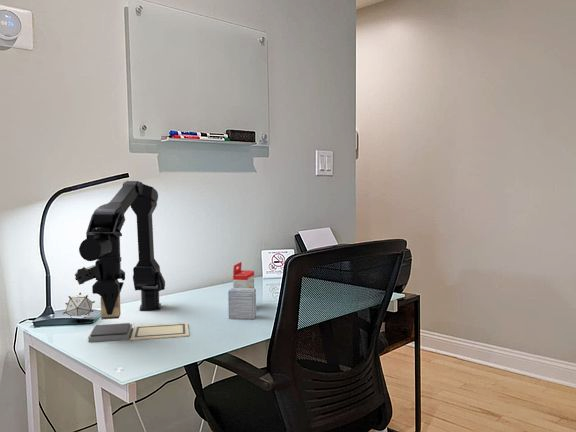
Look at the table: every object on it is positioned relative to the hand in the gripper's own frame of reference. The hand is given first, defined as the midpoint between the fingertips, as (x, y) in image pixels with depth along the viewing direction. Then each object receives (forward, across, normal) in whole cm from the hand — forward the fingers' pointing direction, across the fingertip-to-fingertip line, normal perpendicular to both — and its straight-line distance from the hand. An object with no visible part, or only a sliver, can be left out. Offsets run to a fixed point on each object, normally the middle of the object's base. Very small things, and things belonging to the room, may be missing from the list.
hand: (110, 312), depth 133 cm
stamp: (+1, 0, 0) cm, 1 cm away
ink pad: (+6, 0, 0) cm, 6 cm away
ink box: (+6, -20, +39) cm, 44 cm away
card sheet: (+6, 0, +13) cm, 14 cm away
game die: (+6, -17, -11) cm, 21 cm away
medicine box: (+6, -9, +37) cm, 39 cm away
